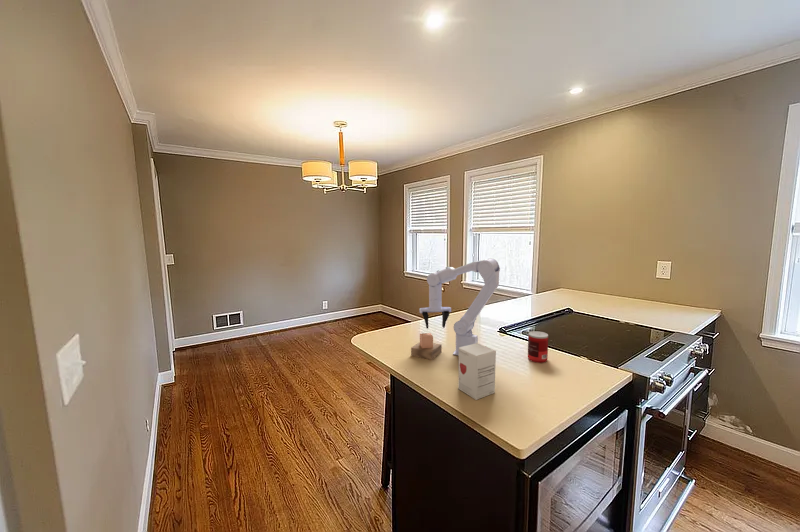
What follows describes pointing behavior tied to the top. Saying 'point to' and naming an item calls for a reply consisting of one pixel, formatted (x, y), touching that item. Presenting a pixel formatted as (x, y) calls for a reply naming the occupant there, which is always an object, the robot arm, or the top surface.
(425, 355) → the walnut block
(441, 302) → the robot arm
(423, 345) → the terracotta cube
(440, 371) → the top surface
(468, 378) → the supplement box
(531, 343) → the canned food
